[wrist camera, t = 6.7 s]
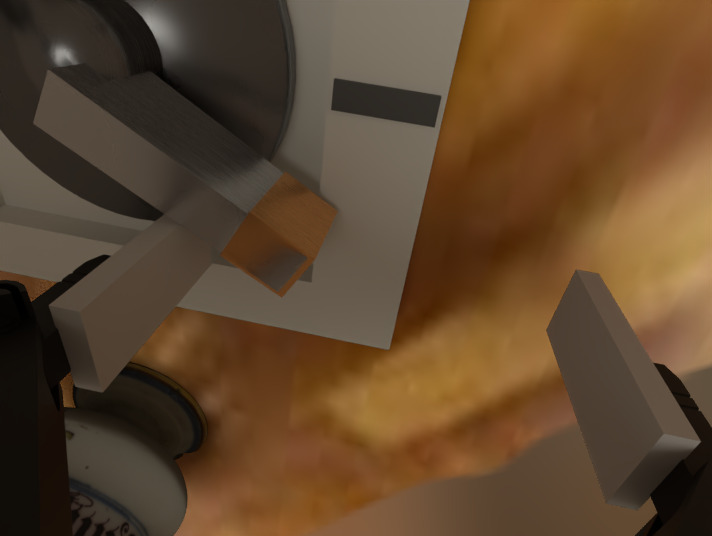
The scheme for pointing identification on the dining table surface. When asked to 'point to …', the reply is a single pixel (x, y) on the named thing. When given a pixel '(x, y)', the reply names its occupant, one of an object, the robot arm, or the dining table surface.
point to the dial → (167, 118)
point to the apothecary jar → (130, 454)
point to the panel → (298, 174)
